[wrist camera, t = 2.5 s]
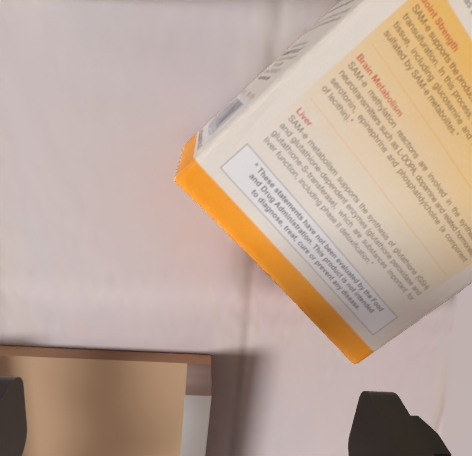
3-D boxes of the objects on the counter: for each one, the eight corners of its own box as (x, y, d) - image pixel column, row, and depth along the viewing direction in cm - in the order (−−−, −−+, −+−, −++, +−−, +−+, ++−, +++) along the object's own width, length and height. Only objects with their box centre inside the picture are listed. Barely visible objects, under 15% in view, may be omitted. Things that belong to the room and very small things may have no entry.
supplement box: (315, 294, 17) (606, 74, 14) (353, 373, 12) (787, 73, 10) (176, 143, 14) (501, -153, 12) (162, 174, 10) (679, -293, 7)
